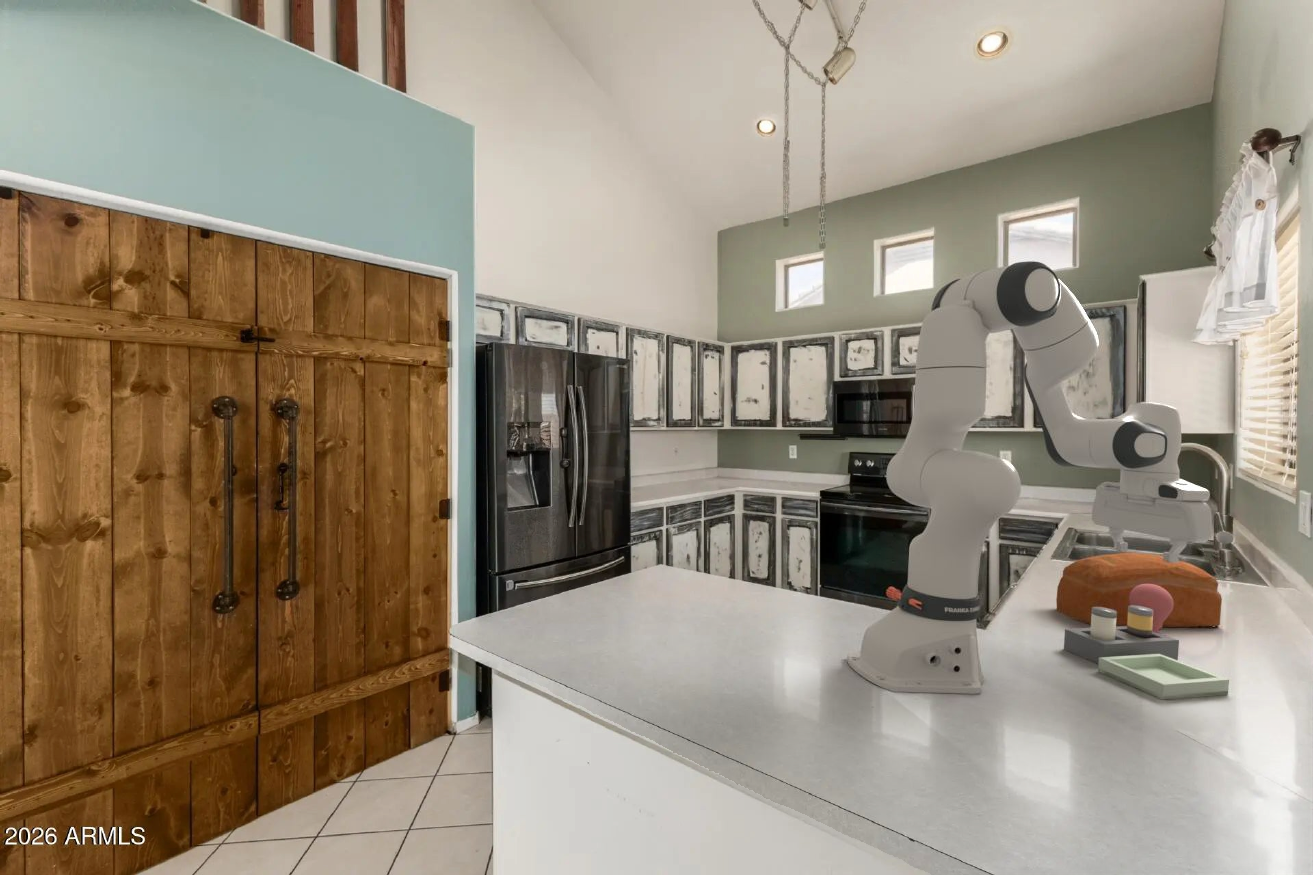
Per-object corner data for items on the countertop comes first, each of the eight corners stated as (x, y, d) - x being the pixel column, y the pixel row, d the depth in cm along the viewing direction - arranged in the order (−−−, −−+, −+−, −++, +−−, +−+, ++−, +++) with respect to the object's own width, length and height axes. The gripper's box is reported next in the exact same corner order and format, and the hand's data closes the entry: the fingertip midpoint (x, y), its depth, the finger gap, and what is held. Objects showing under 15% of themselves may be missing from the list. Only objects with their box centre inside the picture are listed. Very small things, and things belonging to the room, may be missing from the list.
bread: (1048, 608, 144) (1051, 545, 144) (1170, 610, 147) (1173, 548, 146) (1095, 628, 130) (1099, 559, 130) (1228, 629, 133) (1232, 561, 133)
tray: (1163, 699, 95) (1164, 684, 95) (1098, 671, 106) (1098, 657, 105) (1228, 694, 98) (1229, 679, 98) (1158, 666, 109) (1159, 653, 109)
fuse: (1103, 660, 111) (1105, 613, 111) (1084, 652, 115) (1087, 607, 114) (1118, 659, 112) (1121, 612, 112) (1099, 651, 115) (1102, 606, 115)
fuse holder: (1102, 665, 108) (1104, 644, 108) (1063, 648, 116) (1064, 628, 116) (1177, 660, 112) (1179, 639, 112) (1135, 644, 120) (1136, 625, 120)
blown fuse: (1140, 657, 113) (1143, 611, 113) (1120, 650, 117) (1123, 605, 116) (1155, 656, 114) (1158, 611, 114) (1135, 649, 118) (1138, 604, 117)
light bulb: (1179, 649, 119) (1183, 590, 118) (1139, 645, 120) (1143, 587, 120) (1157, 636, 126) (1160, 581, 125) (1119, 633, 127) (1122, 578, 127)
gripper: (1085, 480, 124) (1082, 545, 124) (1193, 492, 104) (1189, 569, 104) (1109, 480, 125) (1105, 544, 126) (1220, 492, 105) (1216, 568, 106)
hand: (1144, 556), depth 115 cm, fingers open, 8 cm apart
